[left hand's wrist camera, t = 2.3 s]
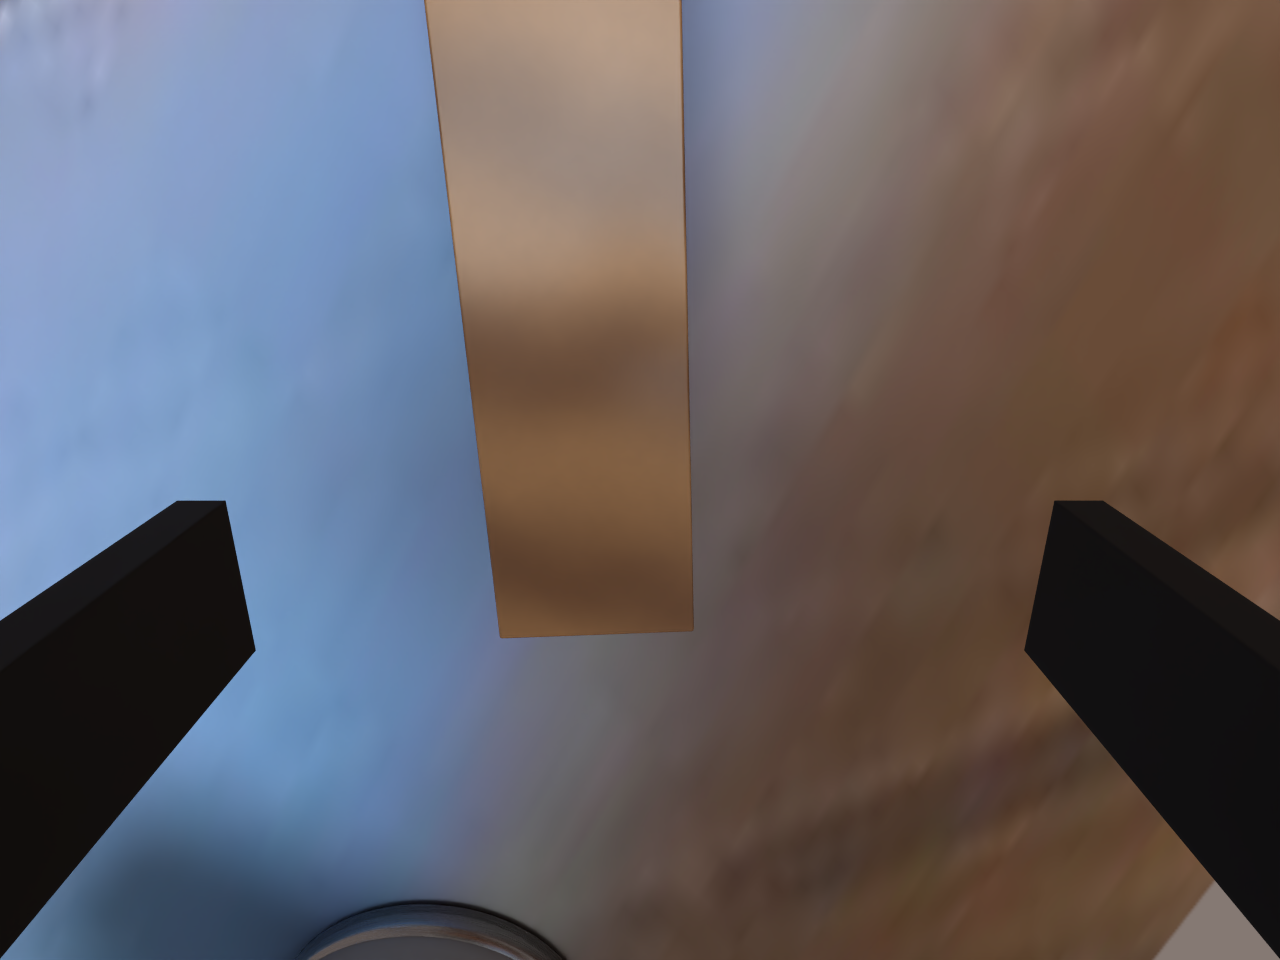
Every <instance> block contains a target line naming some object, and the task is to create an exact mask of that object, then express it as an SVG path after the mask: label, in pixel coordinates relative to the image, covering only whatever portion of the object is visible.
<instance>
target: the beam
mask: <svg viewBox="0 0 1280 960" xmlns="http://www.w3.org/2000/svg"><path fill="white" fill-rule="evenodd" d="M424 3H425V12H426V20H427V29H428V37H429V45H430V54H431V62H432V71H433V79H434V87H435V96H436V104H437V113H438V121H439V129H440V138H441V146H442V155H443V163H444V172H445V180H446V188H447V197H448V205H449V214H450V222H451V230H452V239H453V247H454V256H455V264H456V272H457V281H458V289H459V298H460V306H461V315H462V323H463V331H464V340H465V348H466V357H467V365H468V373H469V382H470V390H471V399H472V407H473V415H474V424H475V432H476V441H477V449H478V457H479V466H480V474H481V483H482V491H483V500H484V508H485V516H486V525H487V533H488V542H489V550H490V558H491V567H492V575H493V584H494V592H495V600H496V609H497V617H498V626H499V634H500V638H521V637H548V636H575V635H602V634H628V633H655V632H682V631H693V629H694V617H693V565H692V513H691V462H690V410H689V358H688V306H687V254H686V203H685V151H684V99H683V47H682V0H424Z"/></svg>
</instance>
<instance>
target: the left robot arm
mask: <svg viewBox="0 0 1280 960" xmlns="http://www.w3.org/2000/svg"><path fill="white" fill-rule="evenodd" d="M255 651H256V650H255V645H254V640H253V635H252V630H251V625H250V620H249V615H248V610H247V605H246V600H245V595H244V590H243V585H242V580H241V575H240V570H239V565H238V560H237V555H236V550H235V545H234V540H233V536H232V531H231V526H230V521H229V516H228V511H227V506H226V501H176V502H174V503H173V504H172V505H170V506H169V507H167V508H166V509H164V510H163V511H161V512H160V513H158V514H157V515H155V516H154V517H152V518H151V519H149V520H148V521H146V522H145V523H144V524H142V525H141V526H139V527H138V528H136V529H135V530H133V531H132V532H130V533H129V534H127V535H126V536H124V537H123V538H121V539H120V540H119V541H117V542H116V543H114V544H113V545H111V546H110V547H108V548H107V549H105V550H104V551H102V552H101V553H99V554H98V555H96V556H95V557H93V558H92V559H91V560H89V561H88V562H86V563H85V564H83V565H82V566H80V567H79V568H77V569H76V570H74V571H73V572H71V573H70V574H68V575H67V576H65V577H64V578H63V579H61V580H60V581H58V582H57V583H55V584H54V585H52V586H51V587H49V588H48V589H46V590H45V591H43V592H42V593H40V594H39V595H37V596H36V597H35V598H33V599H32V600H30V601H29V602H27V603H26V604H24V605H23V606H21V607H20V608H18V609H17V610H15V611H14V612H12V613H11V614H9V615H8V616H7V617H5V618H4V619H2V620H1V621H0V958H1V957H2V956H3V955H4V953H5V952H6V951H7V950H8V949H9V947H10V946H11V945H12V944H13V943H14V941H15V940H16V939H17V938H18V937H19V935H20V934H21V933H22V932H23V931H24V929H25V928H26V927H27V926H28V925H29V923H30V922H31V921H32V920H33V918H34V917H35V916H36V915H37V914H38V912H39V911H40V910H41V909H42V908H43V906H44V905H45V904H46V903H47V902H48V900H49V899H50V898H51V897H52V896H53V894H54V893H55V892H56V891H57V890H58V888H59V887H60V886H61V885H62V883H63V882H64V881H65V880H66V879H67V877H68V876H69V875H70V874H71V873H72V871H73V870H74V869H75V868H76V867H77V865H78V864H79V863H80V862H81V861H82V859H83V858H84V857H85V856H86V855H87V853H88V852H89V851H90V850H91V848H92V847H93V846H94V845H95V844H96V842H97V841H98V840H99V839H100V838H101V836H102V835H103V834H104V833H105V832H106V830H107V829H108V828H109V827H110V826H111V824H112V823H113V822H114V821H115V820H116V818H117V817H118V816H119V815H120V813H121V812H122V811H123V810H124V809H125V807H126V806H127V805H128V804H129V803H130V801H131V800H132V799H133V798H134V797H135V795H136V794H137V793H138V792H139V791H140V789H141V788H142V787H143V786H144V785H145V783H146V782H147V781H148V780H149V778H150V777H151V776H152V775H153V774H154V772H155V771H156V770H157V769H158V768H159V766H160V765H161V764H162V763H163V762H164V760H165V759H166V758H167V757H168V756H169V754H170V753H171V752H172V751H173V750H174V748H175V747H176V746H177V745H178V743H179V742H180V741H181V740H182V739H183V737H184V736H185V735H186V734H187V733H188V731H189V730H190V729H191V728H192V727H193V725H194V724H195V723H196V722H197V721H198V719H199V718H200V717H201V716H202V715H203V713H204V712H205V711H206V710H207V708H208V707H209V706H210V705H211V704H212V702H213V701H214V700H215V699H216V698H217V696H218V695H219V694H220V693H221V692H222V690H223V689H224V688H225V687H226V686H227V684H228V683H229V682H230V681H231V680H232V678H233V677H234V676H235V675H236V673H237V672H238V671H239V670H240V669H241V667H242V666H243V665H244V664H245V663H246V661H247V660H248V659H249V658H250V657H251V655H252V654H253V653H254V652H255ZM1024 651H1025V652H1026V653H1027V654H1028V655H1029V657H1030V658H1031V659H1032V660H1033V661H1034V663H1035V664H1036V665H1037V666H1038V667H1039V669H1040V670H1041V671H1042V672H1043V673H1044V675H1045V676H1046V677H1047V678H1048V680H1049V681H1050V682H1051V683H1052V684H1053V686H1054V687H1055V688H1056V689H1057V690H1058V692H1059V693H1060V694H1061V695H1062V696H1063V698H1064V699H1065V700H1066V701H1067V702H1068V704H1069V705H1070V706H1071V707H1072V708H1073V710H1074V711H1075V712H1076V713H1077V715H1078V716H1079V717H1080V718H1081V719H1082V721H1083V722H1084V723H1085V724H1086V725H1087V727H1088V728H1089V729H1090V730H1091V731H1092V733H1093V734H1094V735H1095V736H1096V737H1097V739H1098V740H1099V741H1100V742H1101V743H1102V745H1103V746H1104V747H1105V748H1106V750H1107V751H1108V752H1109V753H1110V754H1111V756H1112V757H1113V758H1114V759H1115V760H1116V762H1117V763H1118V764H1119V765H1120V766H1121V768H1122V769H1123V770H1124V771H1125V772H1126V774H1127V775H1128V776H1129V777H1130V778H1131V780H1132V781H1133V782H1134V783H1135V785H1136V786H1137V787H1138V788H1139V789H1140V791H1141V792H1142V793H1143V794H1144V795H1145V797H1146V798H1147V799H1148V800H1149V801H1150V803H1151V804H1152V805H1153V806H1154V807H1155V809H1156V810H1157V811H1158V812H1159V813H1160V815H1161V816H1162V817H1163V818H1164V820H1165V821H1166V822H1167V823H1168V824H1169V826H1170V827H1171V828H1172V829H1173V830H1174V832H1175V833H1176V834H1177V835H1178V836H1179V838H1180V839H1181V840H1182V841H1183V842H1184V844H1185V845H1186V846H1187V847H1188V848H1189V850H1190V851H1191V852H1192V853H1193V855H1194V856H1195V857H1196V858H1197V859H1198V861H1199V862H1200V863H1201V864H1202V865H1203V867H1204V868H1205V869H1206V870H1207V871H1208V873H1209V874H1210V875H1211V876H1212V877H1213V879H1214V880H1215V881H1216V882H1217V883H1218V885H1219V886H1220V887H1221V888H1222V890H1223V891H1224V892H1225V893H1226V894H1227V896H1228V897H1229V898H1230V899H1231V900H1232V902H1233V903H1234V904H1235V905H1236V906H1237V908H1238V909H1239V910H1240V911H1241V912H1242V914H1243V915H1244V916H1245V917H1246V918H1247V920H1248V921H1249V922H1250V923H1251V925H1252V926H1253V927H1254V928H1255V929H1256V931H1257V932H1258V933H1259V934H1260V935H1261V937H1262V938H1263V939H1264V940H1265V941H1266V943H1267V944H1268V945H1269V946H1270V947H1271V949H1272V950H1273V951H1274V952H1275V953H1276V955H1277V956H1278V957H1279V958H1280V621H1279V620H1278V619H1276V618H1275V617H1273V616H1272V615H1271V614H1269V613H1268V612H1266V611H1265V610H1263V609H1262V608H1260V607H1259V606H1257V605H1256V604H1254V603H1253V602H1251V601H1250V600H1248V599H1247V598H1245V597H1244V596H1243V595H1241V594H1240V593H1238V592H1237V591H1235V590H1234V589H1232V588H1231V587H1229V586H1228V585H1226V584H1225V583H1223V582H1222V581H1220V580H1219V579H1217V578H1216V577H1215V576H1213V575H1212V574H1210V573H1209V572H1207V571H1206V570H1204V569H1203V568H1201V567H1200V566H1198V565H1197V564H1195V563H1194V562H1192V561H1191V560H1189V559H1188V558H1187V557H1185V556H1184V555H1182V554H1181V553H1179V552H1178V551H1176V550H1175V549H1173V548H1172V547H1170V546H1169V545H1167V544H1166V543H1164V542H1163V541H1161V540H1160V539H1159V538H1157V537H1156V536H1154V535H1153V534H1151V533H1150V532H1148V531H1147V530H1145V529H1144V528H1142V527H1141V526H1139V525H1138V524H1136V523H1135V522H1134V521H1132V520H1131V519H1129V518H1128V517H1126V516H1125V515H1123V514H1122V513H1120V512H1119V511H1117V510H1116V509H1114V508H1113V507H1111V506H1110V505H1108V504H1107V503H1106V502H1104V501H1054V506H1053V511H1052V516H1051V521H1050V526H1049V531H1048V535H1047V540H1046V545H1045V550H1044V555H1043V560H1042V565H1041V570H1040V575H1039V580H1038V585H1037V590H1036V595H1035V600H1034V605H1033V610H1032V615H1031V620H1030V625H1029V630H1028V635H1027V640H1026V645H1025V650H1024ZM295 960H563V959H562V958H561V957H560V956H559V955H558V954H557V953H556V952H555V951H554V950H553V949H551V948H550V947H549V946H548V945H547V944H546V943H544V942H543V941H541V940H540V939H539V938H537V937H536V936H534V935H533V934H531V933H529V932H528V931H526V930H524V929H522V928H520V927H518V926H516V925H514V924H512V923H510V922H508V921H505V920H503V919H500V918H498V917H495V916H492V915H489V914H486V913H482V912H479V911H475V910H470V909H466V908H460V907H454V906H447V905H434V904H411V905H398V906H391V907H385V908H380V909H376V910H371V911H368V912H364V913H361V914H358V915H355V916H353V917H350V918H348V919H345V920H343V921H341V922H339V923H337V924H335V925H333V926H332V927H330V928H328V929H327V930H325V931H324V932H322V933H321V934H319V935H318V936H317V937H316V938H315V939H313V940H312V941H311V942H310V943H309V944H308V945H307V946H306V947H305V948H304V949H303V950H302V951H301V952H300V954H299V955H298V957H297V958H296V959H295Z"/></svg>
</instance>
